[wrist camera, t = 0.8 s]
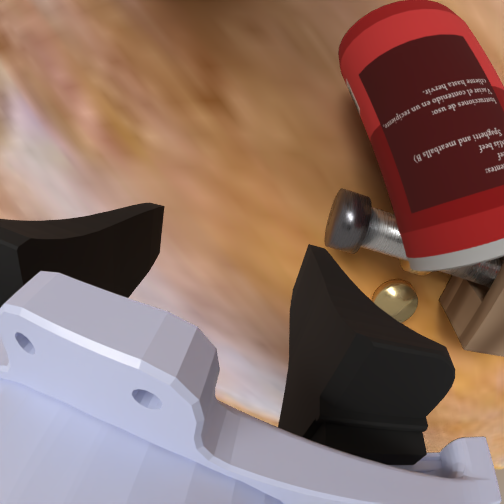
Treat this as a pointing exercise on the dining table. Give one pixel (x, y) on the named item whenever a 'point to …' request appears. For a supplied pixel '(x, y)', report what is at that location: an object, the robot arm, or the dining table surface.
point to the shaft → (385, 236)
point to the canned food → (432, 129)
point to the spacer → (396, 299)
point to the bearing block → (476, 313)
